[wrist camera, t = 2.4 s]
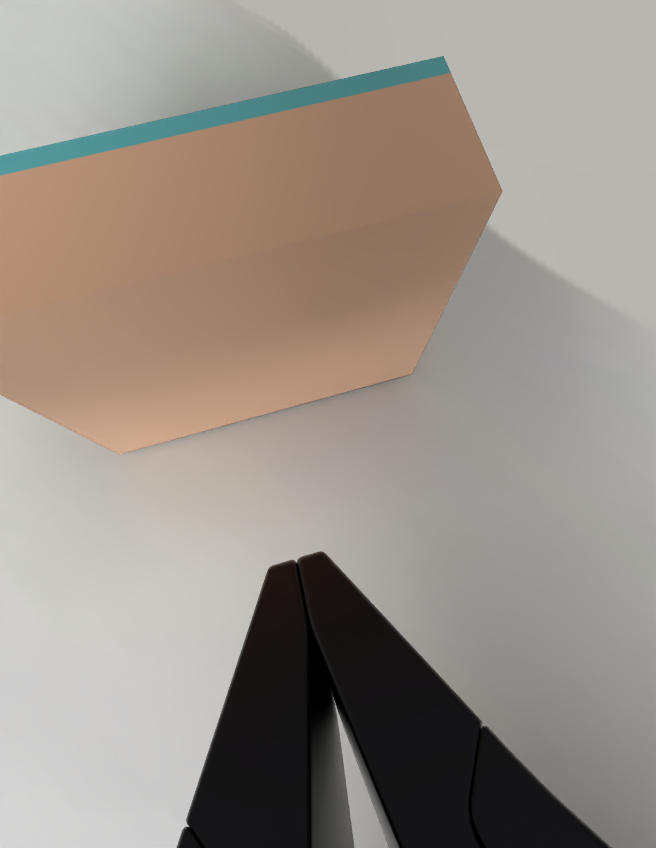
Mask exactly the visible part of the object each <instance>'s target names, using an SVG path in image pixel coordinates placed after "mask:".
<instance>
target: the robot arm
mask: <svg viewBox="0 0 656 848" xmlns="http://www.w3.org/2000/svg"><path fill="white" fill-rule="evenodd" d="M333 697H334V698H333ZM334 700H335V703H336V706H337V709H338V712H339V715H340V718H341V721H342V724H343V726H344V729H345V732H346V734H347V737H348V740H349V742H350V745H351V748H352V750H353V753H354V756H355V758H356V761H357V763H358V766H359V769H360V771H361V774H362V777H363V779H364V782H365V785H366V787H367V790H368V793H369V795H370V798H371V801H372V803H373V806H374V808H375V811H376V814H377V816H378V819H379V822H380V824H381V827H382V830H383V832H384V835H385V838H386V840H387V843H388V846H389V848H611V847H610V846H609V845H608V844H607V843H606V842H604V841H603V840H602V839H601V838H600V837H599V836H598V835H597V834H596V833H594V832H593V831H592V830H591V829H590V828H589V827H588V826H587V825H586V824H585V823H584V822H582V821H581V820H580V819H579V818H578V817H577V816H576V815H575V814H574V813H573V812H572V811H571V810H569V809H568V808H567V807H566V806H565V805H564V804H563V803H562V802H561V801H560V800H559V799H557V798H556V797H555V796H554V795H553V794H552V793H551V792H550V791H549V790H548V789H547V788H546V787H545V786H544V785H543V784H542V783H541V782H540V781H539V780H538V779H537V778H536V777H535V776H534V775H533V774H532V773H531V772H530V771H529V770H528V769H527V768H526V767H525V766H524V765H523V764H522V763H521V762H520V761H519V760H518V759H517V758H516V756H515V755H514V754H513V753H512V752H511V751H510V750H509V749H508V748H507V747H506V746H505V745H504V744H503V743H502V742H501V741H500V740H499V738H498V737H497V736H496V735H495V734H494V733H493V732H492V731H491V730H490V729H489V728H488V727H487V726H483V727H482V721H481V720H480V719H479V718H478V716H477V715H476V714H475V713H474V712H473V711H472V710H471V709H470V708H469V707H468V706H467V705H466V704H465V702H464V701H463V700H462V699H461V698H460V697H459V696H458V695H457V694H456V693H455V692H454V691H453V690H452V689H451V687H450V686H449V685H448V684H447V683H446V682H445V681H444V680H443V679H442V678H441V677H440V676H439V675H438V674H437V672H436V671H435V670H434V669H433V668H432V667H431V666H430V665H429V664H428V663H427V662H426V661H425V660H424V659H423V657H422V656H421V655H420V654H419V653H418V652H417V651H416V650H415V649H414V648H413V647H412V646H411V645H410V643H409V642H408V641H407V640H406V639H405V638H404V637H403V636H402V635H401V634H400V633H399V632H398V631H397V630H396V628H395V627H394V626H393V625H392V624H391V623H390V622H389V621H388V620H387V619H386V618H385V617H384V616H383V615H382V613H381V612H380V611H379V610H378V609H377V608H376V607H375V606H374V605H373V604H372V603H371V602H370V601H369V600H368V598H367V597H366V596H365V595H364V594H363V593H362V592H361V591H360V590H359V589H358V588H357V587H356V586H355V584H354V583H353V582H352V581H351V580H350V579H349V578H348V577H347V576H346V575H345V574H344V573H343V572H342V571H341V569H340V568H339V567H338V566H337V565H336V564H335V563H334V562H333V561H332V560H331V559H330V558H329V557H328V556H327V555H326V554H325V553H324V552H321V551H320V552H316V553H313V554H309V555H306V556H303V557H300V558H299V559H298V561H297V562H296V561H294V560H289V561H286V562H283V563H280V564H276V565H273V566H271V567H270V568H269V569H268V571H267V574H266V577H265V580H264V583H263V586H262V589H261V592H260V595H259V598H258V601H257V604H256V607H255V610H254V613H253V617H252V620H251V623H250V626H249V629H248V632H247V635H246V638H245V641H244V644H243V647H242V650H241V653H240V656H239V659H238V662H237V666H236V669H235V672H234V675H233V678H232V681H231V684H230V687H229V690H228V693H227V696H226V699H225V702H224V705H223V708H222V711H221V715H220V718H219V721H218V724H217V727H216V730H215V733H214V736H213V739H212V742H211V745H210V748H209V751H208V754H207V757H206V760H205V764H204V767H203V770H202V773H201V776H200V779H199V782H198V785H197V788H196V791H195V794H194V797H193V800H192V803H191V806H190V809H189V813H188V816H187V819H186V822H187V824H188V826H189V827H190V828H189V827H185V828H184V829H183V830H182V833H181V836H180V839H179V842H178V845H177V848H354V842H353V834H352V826H351V819H350V811H349V803H348V796H347V788H346V780H345V773H344V765H343V757H342V750H341V742H340V734H339V727H338V720H337V714H336V708H335V703H334Z"/></svg>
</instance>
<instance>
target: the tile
mask: <svg viewBox="0 0 656 848" xmlns="http://www.w3.org/2000/svg"><path fill="white" fill-rule="evenodd" d="M501 193H502V189H501V187H500V185H499V183H498V180H497V178H496V175H495V173H494V171H493V168H492V166H491V164H490V162H489V159H488V157H487V155H486V152H485V150H484V148H483V146H482V143H481V141H480V139H479V136H478V134H477V132H476V130H475V127H474V125H473V123H472V121H471V118H470V116H469V114H468V112H467V109H466V107H465V104H464V102H463V100H462V98H461V95H460V93H459V91H458V89H457V86H456V84H455V81H454V79H453V77H452V75H451V73H450V70H449V68H448V65H447V63H446V61H445V59H444V56H442V57H438V58H434V59H429V60H424V61H420V62H415V63H411V64H407V65H403V66H398V67H393V68H389V69H385V70H380V71H376V72H371V73H367V74H362V75H358V76H353V77H349V78H344V79H340V80H335V81H331V82H326V83H322V84H318V85H313V86H309V87H304V88H300V89H295V90H291V91H286V92H282V93H277V94H273V95H269V96H264V97H260V98H255V99H251V100H246V101H242V102H237V103H233V104H229V105H224V106H220V107H215V108H211V109H206V110H202V111H197V112H193V113H188V114H184V115H180V116H175V117H171V118H166V119H162V120H157V121H153V122H148V123H144V124H140V125H135V126H131V127H126V128H122V129H117V130H113V131H108V132H104V133H99V134H95V135H91V136H86V137H82V138H77V139H73V140H68V141H64V142H59V143H55V144H51V145H46V146H42V147H37V148H33V149H28V150H24V151H19V152H15V153H10V154H6V155H2V156H0V395H2V396H4V397H6V398H8V399H10V400H12V401H14V402H16V403H18V404H20V405H22V406H24V407H26V408H28V409H30V410H32V411H34V412H36V413H38V414H40V415H42V416H43V417H45V418H47V419H49V420H51V421H53V422H55V423H57V424H59V425H61V426H63V427H65V428H67V429H69V430H71V431H73V432H75V433H77V434H79V435H81V436H83V437H85V438H87V439H89V440H91V441H93V442H95V443H97V444H99V445H101V446H103V447H105V448H107V449H109V450H111V451H113V452H115V453H117V454H123V453H126V452H130V451H134V450H137V449H141V448H145V447H148V446H152V445H155V444H159V443H163V442H166V441H170V440H174V439H177V438H181V437H184V436H188V435H192V434H195V433H199V432H203V431H206V430H210V429H214V428H217V427H221V426H224V425H228V424H232V423H235V422H239V421H243V420H246V419H250V418H253V417H257V416H261V415H264V414H268V413H272V412H275V411H279V410H282V409H286V408H290V407H293V406H297V405H301V404H304V403H308V402H311V401H315V400H319V399H322V398H326V397H330V396H333V395H337V394H341V393H344V392H348V391H351V390H355V389H359V388H362V387H366V386H370V385H373V384H377V383H380V382H384V381H388V380H391V379H395V378H399V377H402V376H406V375H409V374H412V373H413V371H414V369H415V367H416V365H417V363H418V361H419V359H420V357H421V355H422V353H423V351H424V349H425V347H426V345H427V343H428V341H429V339H430V337H431V335H432V333H433V331H434V329H435V327H436V325H437V323H438V321H439V319H440V317H441V315H442V313H443V311H444V309H445V307H446V305H447V303H448V301H449V298H450V296H451V294H452V292H453V290H454V288H455V286H456V284H457V282H458V280H459V278H460V276H461V274H462V272H463V270H464V268H465V266H466V264H467V262H468V260H469V258H470V256H471V254H472V252H473V250H474V248H475V246H476V244H477V242H478V240H479V238H480V236H481V234H482V232H483V230H484V228H485V226H486V223H487V221H488V219H489V217H490V215H491V213H492V211H493V209H494V207H495V205H496V203H497V201H498V199H499V197H500V195H501Z"/></svg>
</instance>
